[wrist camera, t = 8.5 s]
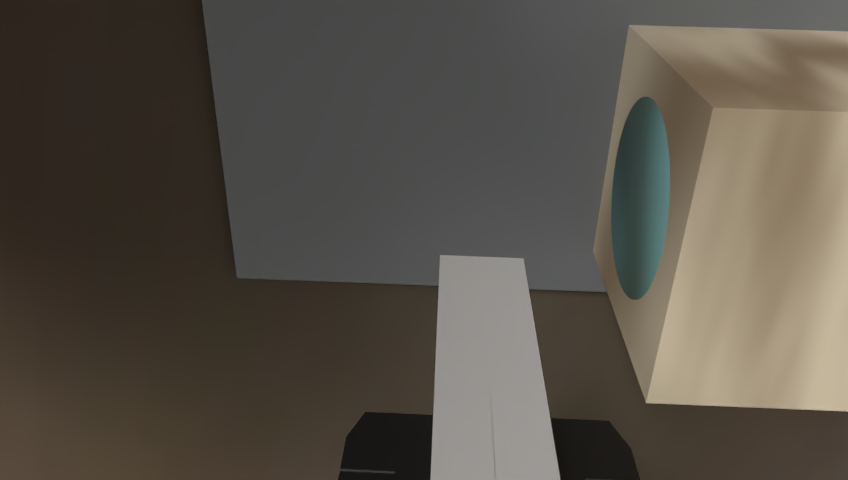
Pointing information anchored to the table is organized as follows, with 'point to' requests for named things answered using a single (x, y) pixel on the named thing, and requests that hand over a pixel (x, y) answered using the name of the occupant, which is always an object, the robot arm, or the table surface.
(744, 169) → the beech block
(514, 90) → the rubber mat
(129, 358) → the table surface
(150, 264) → the table surface
